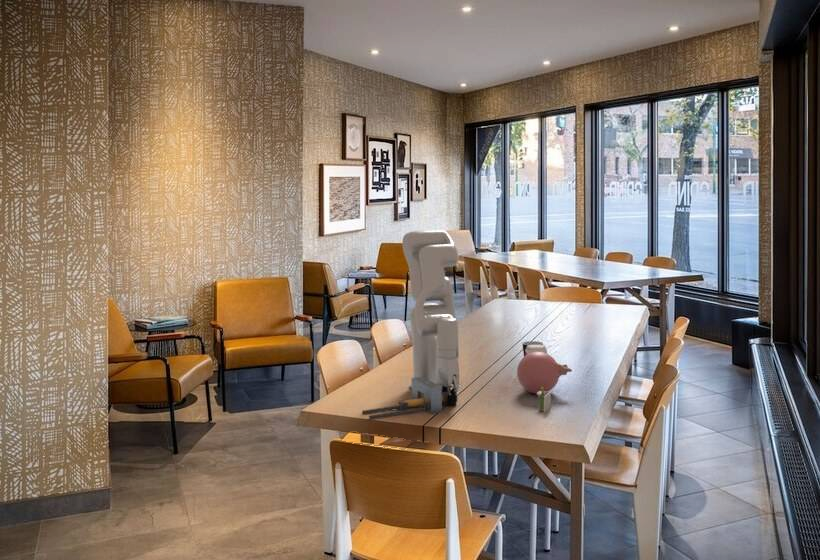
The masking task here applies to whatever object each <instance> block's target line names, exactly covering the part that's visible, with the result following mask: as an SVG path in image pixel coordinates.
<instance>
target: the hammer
mask: <svg viewBox="0 0 820 560" xmlns="http://www.w3.org/2000/svg"><path fill="white" fill-rule="evenodd" d="M447 395H448V392H442V406H445V405H446V406H448V405H447ZM457 402H458V393H457V394H456V404H457ZM398 405H399V409H398V411H404V410H409V408H408V407H410V408H414V407H413V406H416V407H421V406H420V405H423V406H425V398H420V399H413V400H412V399H407V400H400V401H399V400H398Z"/></svg>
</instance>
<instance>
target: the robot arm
mask: <svg viewBox="0 0 820 560" xmlns="http://www.w3.org/2000/svg"><path fill="white" fill-rule="evenodd" d="M402 250H403V251H402V252H403V254H404V257H405V260H406V263H407V266H408V271H409V283H410V292H411V296H412V299H413V301H415V304H414V307H413V308H412V309H411V310H410V312H409V321H410V327H411V335H412V363H413V364H412V365H413V378H416V377H423V378H425V379H427V380H429V381H431V382H433V383H435V384H437V385H439V386H441V391H442V392H448V395H447V405H446V406H448V407H453V406H454V407H455V406H456V405H457V403H456V394H457V395H458V393H457V392H458V390H459V389H460V387H459V384H460V367H459V359H458V358H459V356H460V355H459V351H460V350H459V321H458V320H457V318H456V309H455V308H456V307H455V299H454V290H453V289H454V288H453V284H452V282H451V280H450V278H448V277H447V276H446V273H445V268H447V267H448V268H450V267H455V266H457V264H458V262H459V252H458V249H457V246H456V244H455V243H454V241H453V239H452V238H451V235H450V234H449V233H448V232H447V231H445V230H441V229H438V230H437V229H436V230H414V231H409V232H406V233H405V234H404V236H403V237H402ZM428 302H430V303H431V302H439V303H440V304H426V305H425V303H428ZM409 388H410V389H412V381H411V382H410V383H409Z"/></svg>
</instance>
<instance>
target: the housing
mask: <svg viewBox="0 0 820 560" xmlns="http://www.w3.org/2000/svg"><path fill="white" fill-rule="evenodd" d="M410 381H411V382H412V388H411V400H413V399H420V398H425V405H420V406H419V407H423V406H424V408H425V411H424V412H427V413H429V414H430V415H434V414H440V413H442V412H443V404H442V391H441V386H439V385H437V384H435V383H433V382H431V381H429V380H427V379H425V378H423V377H416V378H414V377H411V380H410Z"/></svg>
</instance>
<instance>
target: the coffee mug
mask: <svg viewBox="0 0 820 560" xmlns="http://www.w3.org/2000/svg"><path fill="white" fill-rule="evenodd" d="M531 344H540V345H544V343H543V342H542V341H534V340H532V341H531V340H529V341H523V342H522V344H521V345H522V351H523V357H525V350H526V348H527V345H531Z"/></svg>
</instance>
